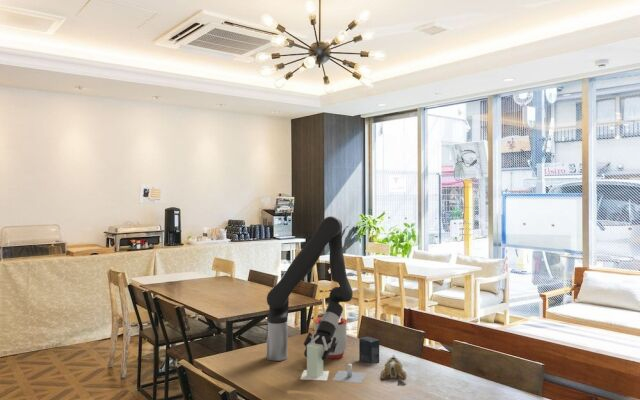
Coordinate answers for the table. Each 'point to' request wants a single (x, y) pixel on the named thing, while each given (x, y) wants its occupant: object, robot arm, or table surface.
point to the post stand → (349, 375)
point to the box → (369, 350)
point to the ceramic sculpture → (393, 369)
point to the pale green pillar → (314, 360)
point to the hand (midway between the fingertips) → (314, 358)
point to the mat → (322, 377)
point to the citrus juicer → (340, 336)
